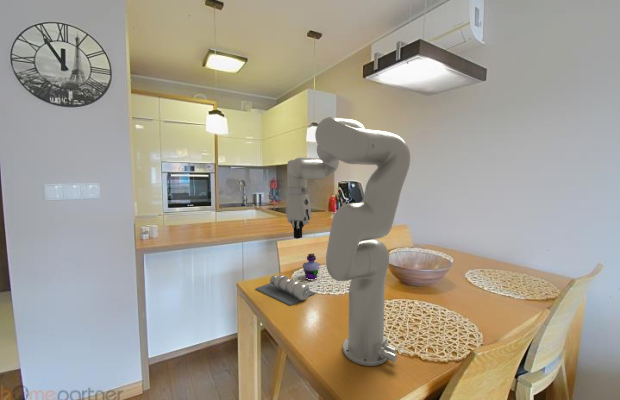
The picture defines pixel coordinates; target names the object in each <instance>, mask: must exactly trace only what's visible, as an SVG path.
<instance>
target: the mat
mask: <svg viewBox="0 0 620 400" xmlns="http://www.w3.org/2000/svg"><path fill="white" fill-rule="evenodd" d="M255 291H258V292H260V293H262V294H264V295H266V296H269V297H270V298H273V299H274V300H276V301H279V302H281V303H282V304H285V305H287V306H289V307H291V306H294V305H295V304H297V303H299V302H301V300H297V299H296V298H295V297H294V296H292V295H290V294H288V293H286V292H282V291H279V290H277V289H276V288H275V286H274V285H273V284H271V283H270V282H269V283H266V284H264V285H261V286H259V287H255ZM314 295H316V292H314V291H311V290H310V293H309V296H308V297H307V299H308V298H310V297H312V296H314Z"/></svg>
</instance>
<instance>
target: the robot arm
mask: <svg viewBox="0 0 620 400" xmlns="http://www.w3.org/2000/svg"><path fill="white" fill-rule="evenodd" d="M314 132H315V134H314V137H315V141H316V144H317V145H316V154H317V156H318V157H296V158H294V159H290V160H288V161H287V164H286V165H287V166H286V167H287V168H286V169H287V170H286V172H287V173H286V174H287V195H286V203H285V204H286V205H285V217H286V219H287V222H288V223H290V224H291V226H292V228H293V239H296V240H297V239H302V238H303V228H304V226H305V225H309V221H310V220H311V219H312V210H311V201H310V197H309V194H308V193H309V189H308V180H307V179H324V178H326V177H329V176H331V175H332V174H334V173H335V172H336V171H337V170H338V167H339V163H340V162H343V163H345V164H349V165H368V166H369V165H370V166H371V165H374V166H377V168H376V169H375V170H374V172H373V173H372V174H371V175H370V177H369V178H368V181H367V182H366V185H365V191H364V194H363V197H362V199H361V201H360V202H352V203H350V202H349V203H346V204H343V205H341V206H340V207H338V208H337V210H336V212H335V213H334V215H333V217H332V220H331V226H330V232H329V237H328V243H327V248H326V255H325V265H326V270H327V273H328V275H329V276H330V277H331V278H332V279H333V280H335V281H337V282H346V281H350V283H349V288H348V337H346V338H345V340H343V342H342V352H343V353H344V355H345V357H346V358H348V359H349V360H350V361H352V362H353V363H355V364H358V365H360V366H361V365H362V366H366V367H368V366H369V367H374V366H380V365H381V364H382V365H383V363H385V362H386V361H387V360H389V361H391V362H392V363H396V361H397V358H398V355H397V348H395V347H392V346H390V345H389V344H388V337H386V336H384V333H385V331H384V330H385V326H384V325H385V291H386V290H385V289H386V279H387V272H388V269H389V263H390V254H389V250H388V247H387V246H386V245H385V244H384V243H383V241H380V240H379V239H381V238H385V237H386V236H388V235H389V234H390V232H391V230H392V226H393V225H394V220H395V216H396V213H397V212H396V211H397V208H398V205H399V202H400V197H401V193H402V190H403V186H404V183H405V182H406V181H405V180H406V178H407V175H408V172H409V169H410V165H411V153H410V149H409V146H408V144H407V142H406V141H405V140H404V139H403V138H402V137H400V136H399V135H398V134H394V133H392V132H388V131H382V130H375V129H366V128H365V127H364V125H363V124H362V123H361V122H359V121H357V120H354V119H349V118H342V117H335V116H327V117H324V118H323V119H322V120H320V122H318V125H317V126H316V129H315V131H314Z"/></svg>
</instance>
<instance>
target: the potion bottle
mask: <svg viewBox="0 0 620 400" xmlns="http://www.w3.org/2000/svg"><path fill="white" fill-rule="evenodd" d="M316 259H317V257H316V256H315V253H307V256H306V261H307V262H304V263H303V264H302V269H303V272H304V275H305V279H306V278H308V279H315V278H317V277H318V274H319V270H320V267H321V263H319V262H316ZM317 279H318V278H317Z"/></svg>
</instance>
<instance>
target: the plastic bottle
mask: <svg viewBox="0 0 620 400" xmlns="http://www.w3.org/2000/svg"><path fill="white" fill-rule="evenodd" d="M269 283H271V284H273V285H274V286H275V288H276V289H277V290H279V291H282V292H286V293H288V294H290V295H292V296H294V297H295V298H296V299H297V300H301V301H305V300H307V299H308V298H309V297H308V296H309V293H310V291H311V289H310V287H309V284H307V283H304V282H301V281H300V282H299V281H295V280H293V279H291V278H290V277H288V276H286V275H285V274H280V275H272V276H271V277H270V280H269ZM307 297H308V298H307ZM301 301H300V302H301Z"/></svg>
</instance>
